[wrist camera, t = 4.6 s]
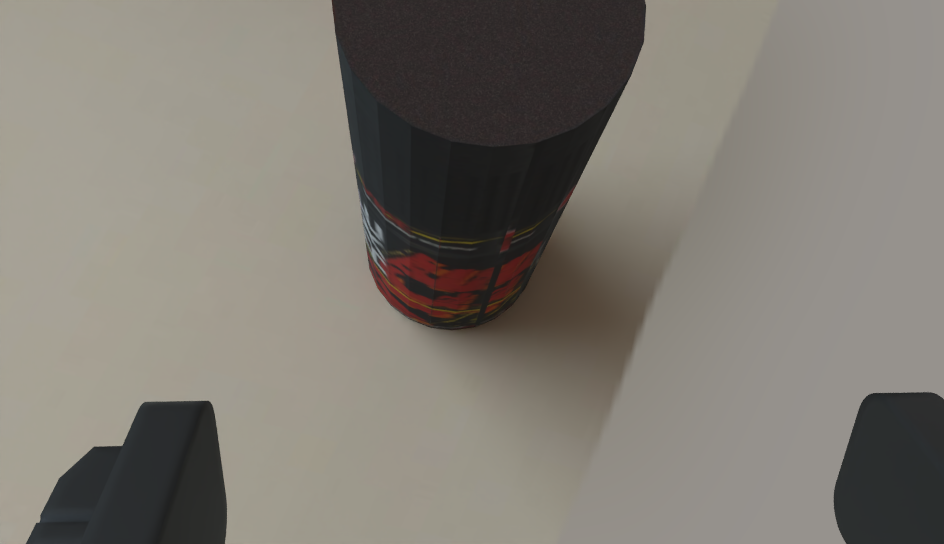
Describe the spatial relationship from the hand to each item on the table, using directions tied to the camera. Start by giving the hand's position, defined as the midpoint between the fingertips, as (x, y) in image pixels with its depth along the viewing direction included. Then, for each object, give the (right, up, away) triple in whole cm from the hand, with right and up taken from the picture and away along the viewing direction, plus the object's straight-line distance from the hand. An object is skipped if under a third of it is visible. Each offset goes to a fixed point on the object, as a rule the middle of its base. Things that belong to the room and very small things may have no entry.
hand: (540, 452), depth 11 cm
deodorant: (-2, +3, +20) cm, 20 cm away
